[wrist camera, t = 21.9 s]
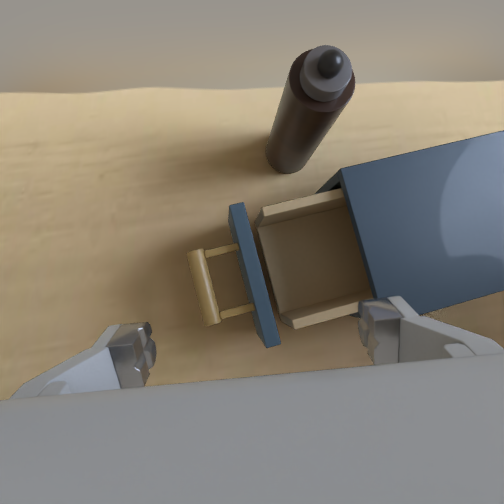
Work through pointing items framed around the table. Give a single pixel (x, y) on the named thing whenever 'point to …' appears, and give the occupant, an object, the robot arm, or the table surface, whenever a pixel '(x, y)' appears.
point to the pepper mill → (309, 106)
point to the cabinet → (430, 221)
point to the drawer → (290, 264)
